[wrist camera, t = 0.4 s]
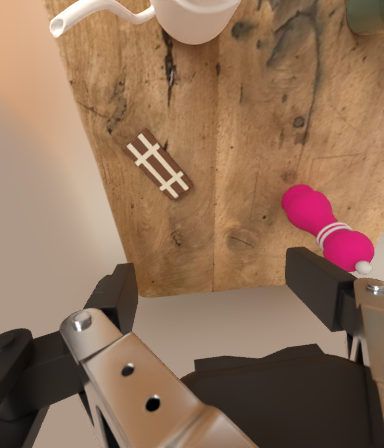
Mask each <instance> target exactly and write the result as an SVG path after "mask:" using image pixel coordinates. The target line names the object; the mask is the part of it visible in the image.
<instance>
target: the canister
mask: <svg viewBox="0 0 384 448" xmlns="http://www.w3.org/2000/svg"><path fill="white" fill-rule="evenodd" d="M346 17H347V23H348V26H349V27H350V29H351V30H352V31H353V32H354V33H355V34H357V35H361V36H366V35H371V34H377V33H382V32H384V0H348V4H347V10H346Z"/></svg>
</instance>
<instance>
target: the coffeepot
mask: <svg viewBox="0 0 384 448" xmlns="http://www.w3.org/2000/svg"><path fill="white" fill-rule="evenodd" d="M241 1H242V0H150V4H151V6H150V8H149V9H147V10H145V11H144V12H142V13H139V14H133V13H132V12H130V11H129V10H128V9H126V8H125V7H124V6H122V5H121V4H120V3H118V2H117V1H116V0H79V1H77V2H76V3H74V4H73V5H71V6H70V7H68V8H67V9H66V10H64V11H63V12H62V13H60V14H59V15H58V16H56V17H55V18H54V19H53V20H51V23H50V31H51V33H52V35H53V36H55V37H59V36H60V35H61V34H63V33H64V32H65V31H67V30H68V29H70V28H71V27H72V26H74V25H75V24H76V23H78V22H79V21H81V20H82V19H84V18H85V17H87V16H89V15H91V14H93V13H95V12H97V11H100V10H108V11H110V12H112V13H114V14H115V15H117V16H119V17H120V18H122V19H124V20H126V21H128V22H129V23H131V24H134V25H138V24H142V23H144V22H146V21H148V20H149V19H151V18H153V17H154V16H155V17H156V18H157V20H158V22H159V23H160V25H161V26H162V28H163V29H164V30H165V31H166V32H167V33H168V34H169V35H170V36H171V37H173V38H174V39H176V40H178V41H180V42H182V43H185V44H191V45H197V44H202V43H205V42H208V41H210V40H212V39H213V38H215V37H216V36H217V35H218V34H219V33H221V31H222V30H223V29H224V28H225V27H226V25H227V24H228V22H229V21H230V19H231V17H232V16H233V14H234V12H235V11H236V9H237V7H238V6H239V4H240V2H241Z"/></svg>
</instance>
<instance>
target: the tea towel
mask: <svg viewBox="0 0 384 448" xmlns="http://www.w3.org/2000/svg"><path fill="white" fill-rule="evenodd" d="M123 150H124V151H125V153H126V154H127V155H128V156H129V157H130V158H131V159H132V160H133V161H134V162H135V163H136V165H137V166H139V167H140V168H141V169H142V170H143V171H144V172H145V173H146V174H147V175H148V177H149V178H150V179H151V180H152V181H153V182H154V183H155V184H156V185H157V186H158V187H159V188H160V190H161V191H163V192H164V193H165V194H166V195H167V196H168V197H169V198H170V199H171V200H173V199H174V198H176V197H178V196H179V195H180V194H181V193H182V192H184V191H186V190H187V189H188V188H189V187H191V186H192V185H193V184H192V181H191V180H190V179H189V178H188V177H187V176H186V174H185V173H184V172H183V171H182V170H181V168H180V167H179V166H178V165H177V164H176V163H175V161H174V160H173V159H172V158H171V157H170V155H169V154H168V153H167V152H166V151H165V150H164V148H163V147H162V146H161V145H160V144H159V142H158V141H157V140H156V139H155V138H154V137H153V135H152V134H151V133H150V132H149V131H148V130H147V128H146V129H144V130H143V131H142V132H141V133H140V134H139V135H138V136H137V137H136V138H135V139H133V140H132V141H131V142H130V143H129V144H128V145H127V146H126V147H125V148H124V149H123Z"/></svg>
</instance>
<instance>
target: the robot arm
mask: <svg viewBox="0 0 384 448" xmlns="http://www.w3.org/2000/svg"><path fill="white" fill-rule="evenodd" d="M285 280H286V283H287V285H288V287H289V288H290V289H291V290H292V291H293V292H294V293H295V294H296V295H297V296H298V297H299V298H300V299H301V300H302V301H303V303H305V304H306V306H307V307H308V308H309V309H310V310H311V311H312V312H313V313H314V314H315V315H316V316H317V317H318V318H319V319H320V320H321V321H322V323H324V325H325V326H326V327H327V328H328V329H329V330H330V331H331V332H336V331H343V330H345V331H346V338H345V345H346V346H345V348H346V358H343V357H339V356H335V355H329V354H324V353H323V351H322V350H321V349H320V348H319V346H318V345H317V344H309V345H302V346H294V347H287V348H285V349H282V350H280V351H277V352H275V353H273V354H270V355H268V356H266V357H263V358H246V357H234V356H220V357H212V358H205V359H197V360H194V364H195V371H194V372H192V373H189V374H187V375H186V376H184V377H182V378H181V379H178V378H177V377H176V375H174V373H173V372H172V371H171V370H170V369H169V368H168V367H167V366H166V365H165V364H164V363H163V362H162V361H161V360H160V359H159V358H158V357H157V356H156V355H155V354H154V353H153V352H152V351H151V350H150V349H149V348H148V347H147V346H146V345H145V344H144V343H143V342H142V341H141V340H140V339H139V338H138V337H137V336H136V335H135V334H134V333H133V332H132V327H133V323H134V318H135V313H136V309H137V304H138V289H137V282H136V275H135V269H134V264H133V263H126V264H118V265H117V266H116V268H115V270H114V272H113V274H112V275H106V276H105V277H104V278H103V279H101V280H100V281H99V282H98V284H97V286H96V289H94V291H93V293H92V295H91V296H90V298H89V299H88V301H87V303H86V305H85V306H84V308H83V310H80V311H78V312H75V313H73V314H72V315H70V316H68V317H67V318H66V319H65V320H64V321H63V322H62V323H61V325H60V330H59V331H57V332H54V333H51V334H47V335H44V336H41V337H38V338H35V339H33V337H32V334H31V331H30V330H28V329H23V328H21V329H15V330H11V331H8V332H4V333H2V334H0V448H32V446H33V444H34V442H35V439H36V437H37V435H38V432H39V430H40V428H41V425H42V422H43V420H44V418H45V416H46V414H47V411H48V409H49V407H50V405H51V404H54V403H56V402H58V401H61V400H63V399H65V398H68V397H70V396H72V395H74V394H77V396H78V399H79V401H80V403H81V405H82V407H83V410H84V412H85V414H86V417H87V419H88V421H89V423H90V425H91V428H92V430H93V432H94V435H95V437H96V439H97V442H98V445H99V447H100V448H384V281H381V280H377V279H372V278H359V279H358V278H356V277H355V276H353V275H352V274H350V273H348V272H347V271H345V270H344V269H342V268H340V267H339V266H337V265H335V264H333V263H332V262H331V261H329V260H327V259H326V258H323V257H321V256H318V255H316V254H315V253H313V252H312V251H310V250H308V249H307V248H305V247H293V248H288V249H287V252H286V266H285Z"/></svg>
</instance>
